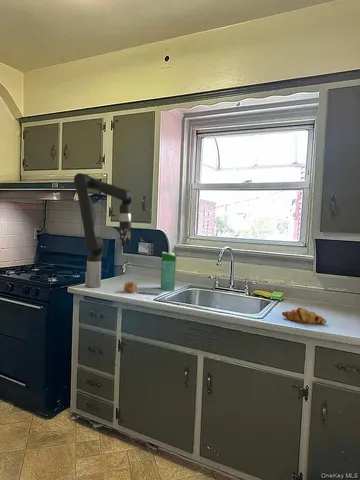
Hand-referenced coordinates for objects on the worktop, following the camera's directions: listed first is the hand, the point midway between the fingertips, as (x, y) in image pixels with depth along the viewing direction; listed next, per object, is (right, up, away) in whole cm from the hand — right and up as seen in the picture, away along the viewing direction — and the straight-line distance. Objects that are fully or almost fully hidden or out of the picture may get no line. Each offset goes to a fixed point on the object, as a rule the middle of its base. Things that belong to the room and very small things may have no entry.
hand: (125, 245), depth 229 cm
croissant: (+97, -37, -51) cm, 115 cm away
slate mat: (+16, -30, -1) cm, 34 cm away
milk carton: (+27, -29, +11) cm, 41 cm away
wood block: (+3, -29, -3) cm, 30 cm away
